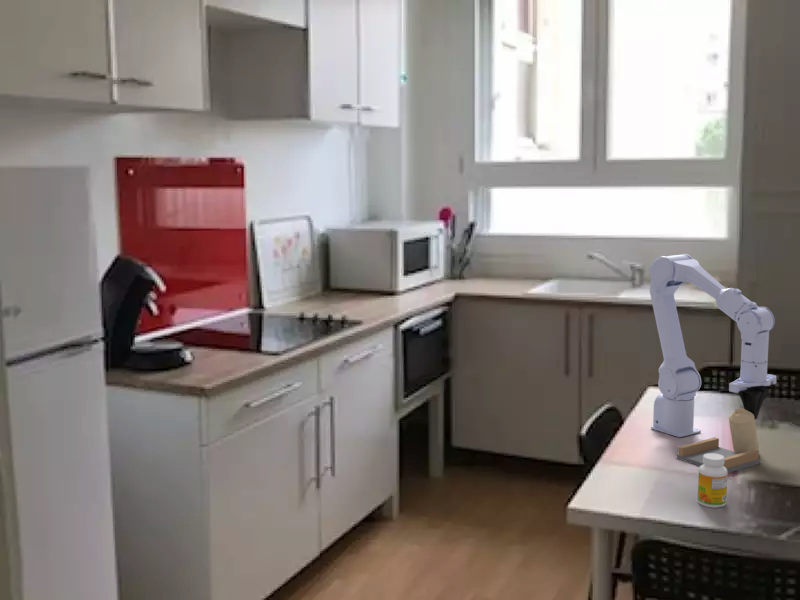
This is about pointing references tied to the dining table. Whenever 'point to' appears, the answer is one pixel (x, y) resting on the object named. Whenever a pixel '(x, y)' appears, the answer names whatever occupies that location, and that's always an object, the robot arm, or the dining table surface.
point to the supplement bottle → (712, 481)
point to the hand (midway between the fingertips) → (751, 418)
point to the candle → (743, 431)
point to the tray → (711, 445)
